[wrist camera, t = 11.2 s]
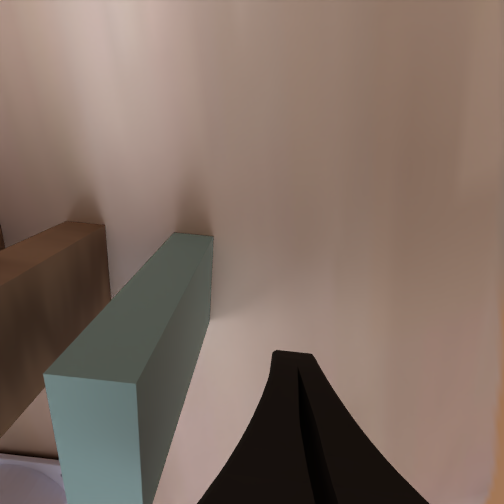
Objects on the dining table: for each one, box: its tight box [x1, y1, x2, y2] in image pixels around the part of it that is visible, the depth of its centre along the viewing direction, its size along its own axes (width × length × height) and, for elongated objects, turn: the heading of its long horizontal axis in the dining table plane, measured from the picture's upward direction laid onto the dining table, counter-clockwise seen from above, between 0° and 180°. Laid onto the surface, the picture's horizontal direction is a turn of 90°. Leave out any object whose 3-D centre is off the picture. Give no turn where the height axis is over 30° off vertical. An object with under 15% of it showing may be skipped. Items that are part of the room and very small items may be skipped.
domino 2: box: [43, 233, 213, 504], centre depth 12 cm, size 5×2×10 cm, turn 175°
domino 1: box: [0, 221, 111, 438], centre depth 12 cm, size 5×2×10 cm, turn 175°
